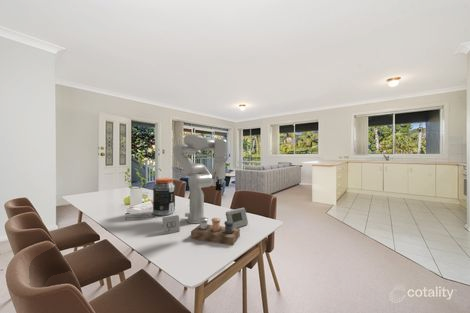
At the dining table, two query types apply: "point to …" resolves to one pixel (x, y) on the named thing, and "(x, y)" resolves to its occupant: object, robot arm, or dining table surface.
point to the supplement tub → (164, 197)
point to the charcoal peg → (228, 227)
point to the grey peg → (203, 223)
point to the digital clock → (237, 217)
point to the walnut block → (215, 235)
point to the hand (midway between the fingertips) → (218, 190)
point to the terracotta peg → (215, 224)
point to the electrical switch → (171, 224)
